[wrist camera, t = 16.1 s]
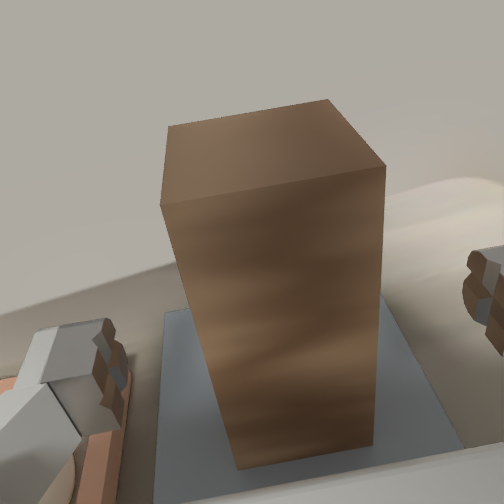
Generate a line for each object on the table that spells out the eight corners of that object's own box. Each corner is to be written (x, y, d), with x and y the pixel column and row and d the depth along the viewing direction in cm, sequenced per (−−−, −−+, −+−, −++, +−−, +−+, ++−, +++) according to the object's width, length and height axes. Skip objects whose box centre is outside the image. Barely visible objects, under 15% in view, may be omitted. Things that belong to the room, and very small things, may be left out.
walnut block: (237, 471, 14) (160, 205, 9) (227, 363, 18) (168, 126, 12) (372, 445, 15) (385, 165, 9) (335, 344, 18) (327, 99, 12)
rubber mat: (151, 639, 12) (144, 632, 11) (167, 321, 22) (164, 312, 21) (520, 567, 12) (525, 558, 12) (370, 285, 22) (371, 275, 21)
